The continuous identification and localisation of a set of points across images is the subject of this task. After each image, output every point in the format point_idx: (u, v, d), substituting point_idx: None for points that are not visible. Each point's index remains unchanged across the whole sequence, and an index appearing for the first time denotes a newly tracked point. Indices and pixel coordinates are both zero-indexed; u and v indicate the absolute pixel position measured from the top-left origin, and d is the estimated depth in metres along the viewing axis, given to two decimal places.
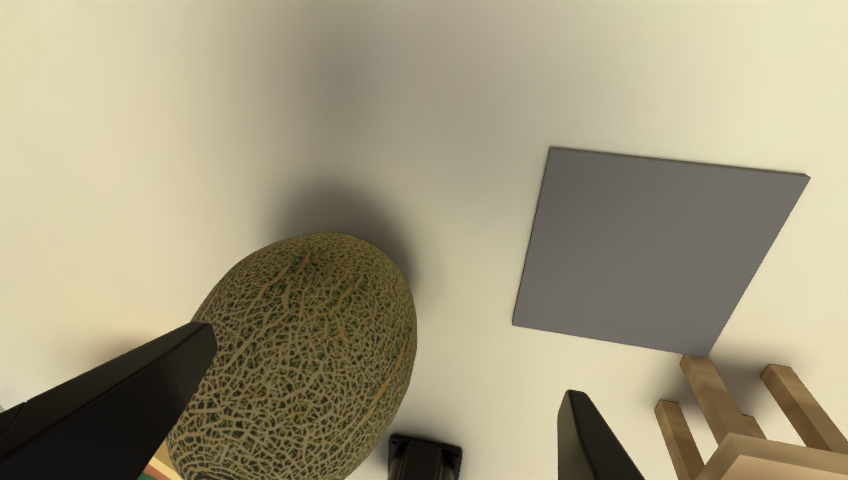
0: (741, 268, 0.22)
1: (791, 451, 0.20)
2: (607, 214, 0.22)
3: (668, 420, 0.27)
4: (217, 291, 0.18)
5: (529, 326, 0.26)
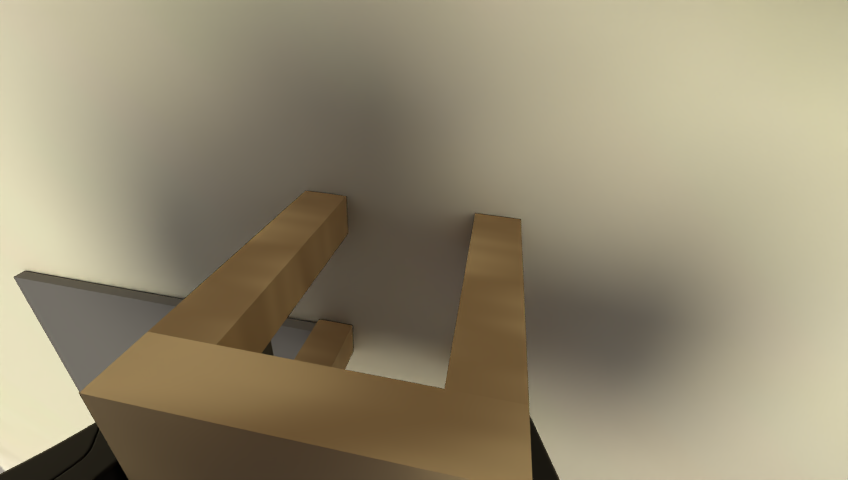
0: (146, 316, 0.15)
1: None
2: None
3: None
4: None
5: None
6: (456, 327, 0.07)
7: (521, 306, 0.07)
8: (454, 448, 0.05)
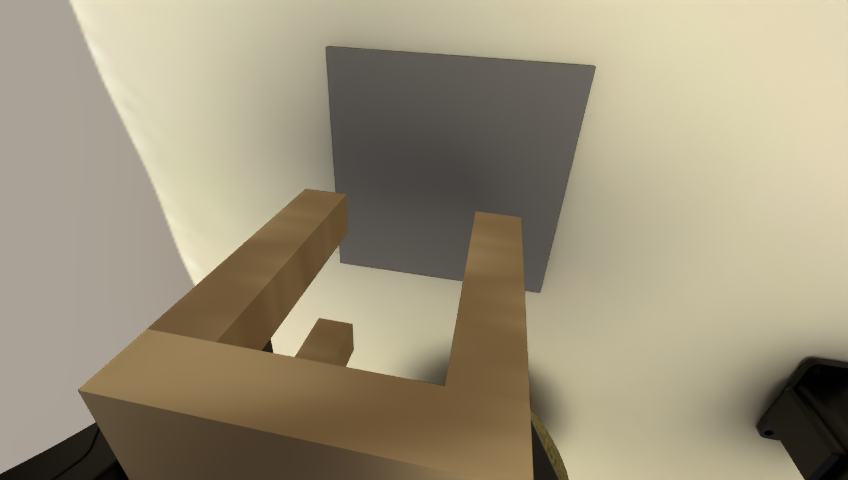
0: (438, 73, 0.18)
1: None
2: (391, 216, 0.22)
3: None
4: None
5: (540, 277, 0.22)
6: (456, 324, 0.07)
7: (522, 303, 0.07)
8: (455, 445, 0.05)
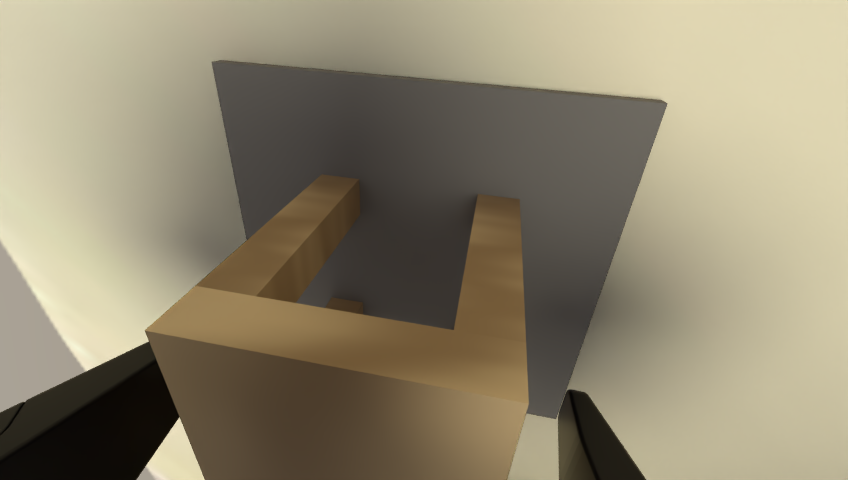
0: (397, 109, 0.11)
1: None
2: None
3: None
4: None
5: (557, 400, 0.15)
6: (463, 284, 0.08)
7: (520, 269, 0.08)
8: (463, 372, 0.06)
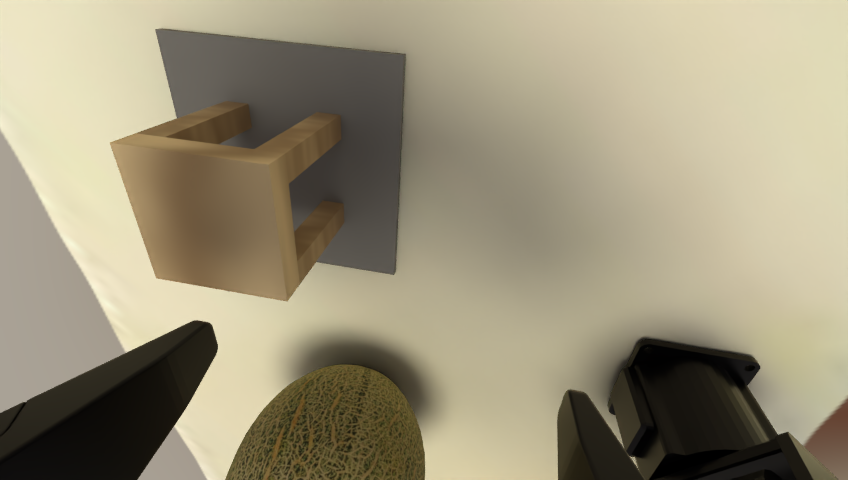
0: (263, 58, 0.19)
1: None
2: None
3: None
4: None
5: (391, 259, 0.23)
6: (272, 138, 0.16)
7: (308, 136, 0.16)
8: (247, 157, 0.14)
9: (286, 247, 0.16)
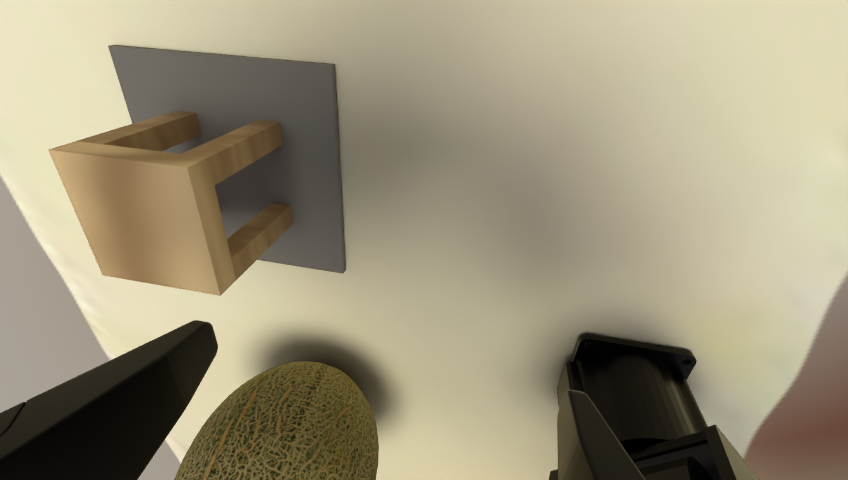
0: (206, 70, 0.20)
1: None
2: None
3: None
4: None
5: (339, 258, 0.24)
6: (202, 144, 0.17)
7: (238, 141, 0.18)
8: (170, 161, 0.15)
9: (215, 244, 0.17)
